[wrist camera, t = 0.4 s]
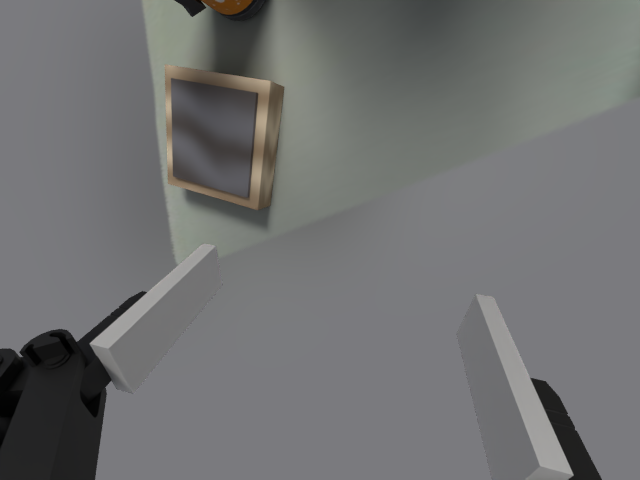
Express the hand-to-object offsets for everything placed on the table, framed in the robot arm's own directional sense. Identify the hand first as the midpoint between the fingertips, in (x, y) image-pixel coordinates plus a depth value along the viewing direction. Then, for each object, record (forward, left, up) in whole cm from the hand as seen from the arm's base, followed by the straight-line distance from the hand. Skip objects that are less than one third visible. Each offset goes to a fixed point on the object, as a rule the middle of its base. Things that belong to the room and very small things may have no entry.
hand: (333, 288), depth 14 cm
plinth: (-3, -25, -24) cm, 34 cm away
